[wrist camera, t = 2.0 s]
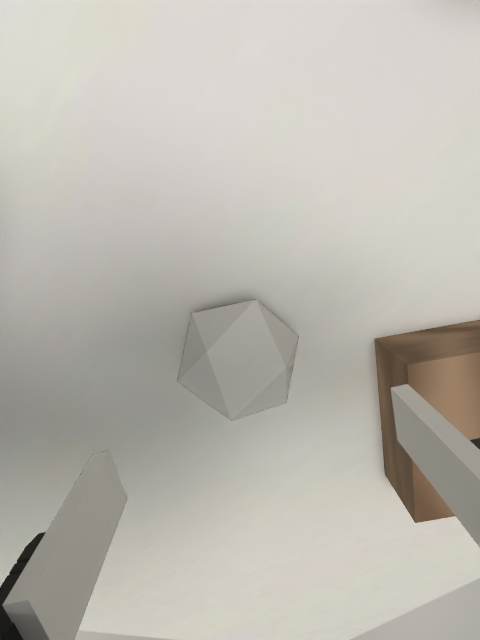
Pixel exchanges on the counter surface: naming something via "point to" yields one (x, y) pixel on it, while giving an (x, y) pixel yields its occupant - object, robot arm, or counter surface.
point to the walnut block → (428, 400)
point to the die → (238, 359)
